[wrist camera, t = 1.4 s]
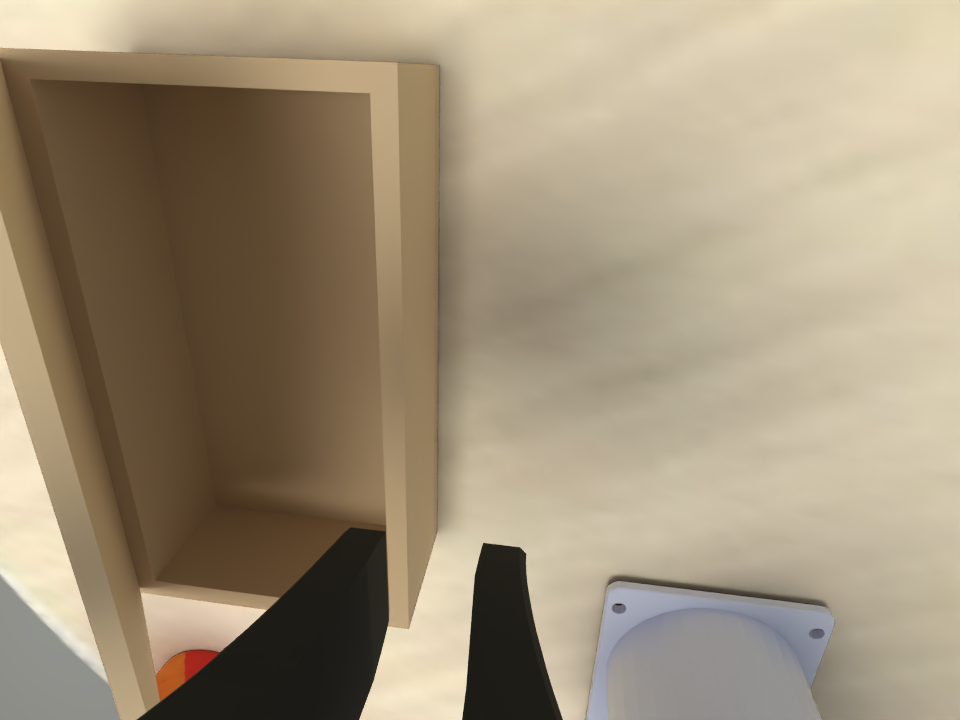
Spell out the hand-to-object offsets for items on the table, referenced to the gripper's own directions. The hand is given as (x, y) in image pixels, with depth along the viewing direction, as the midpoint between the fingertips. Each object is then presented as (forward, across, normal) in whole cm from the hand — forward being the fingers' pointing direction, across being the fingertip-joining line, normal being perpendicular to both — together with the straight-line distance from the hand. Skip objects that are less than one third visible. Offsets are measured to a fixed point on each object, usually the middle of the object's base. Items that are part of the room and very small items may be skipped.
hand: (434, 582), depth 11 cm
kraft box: (+10, +6, 0) cm, 12 cm away
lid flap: (+2, +8, 0) cm, 8 cm away
